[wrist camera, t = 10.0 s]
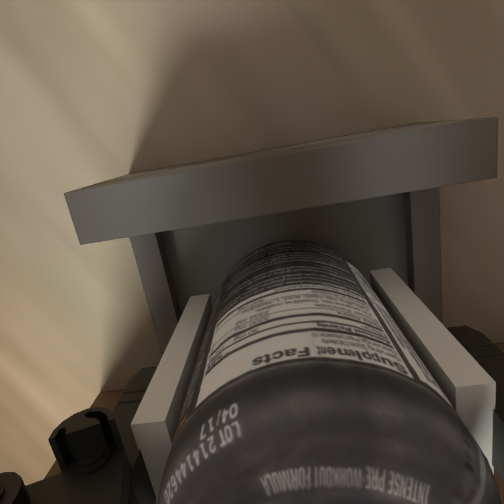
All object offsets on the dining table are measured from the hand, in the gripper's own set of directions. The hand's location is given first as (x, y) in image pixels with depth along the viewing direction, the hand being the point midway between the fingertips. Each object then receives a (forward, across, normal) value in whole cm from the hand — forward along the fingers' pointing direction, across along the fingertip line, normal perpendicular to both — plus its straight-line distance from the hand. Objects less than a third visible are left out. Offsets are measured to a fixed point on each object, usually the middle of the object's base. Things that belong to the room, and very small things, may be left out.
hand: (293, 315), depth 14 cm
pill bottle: (+1, 0, 0) cm, 1 cm away
